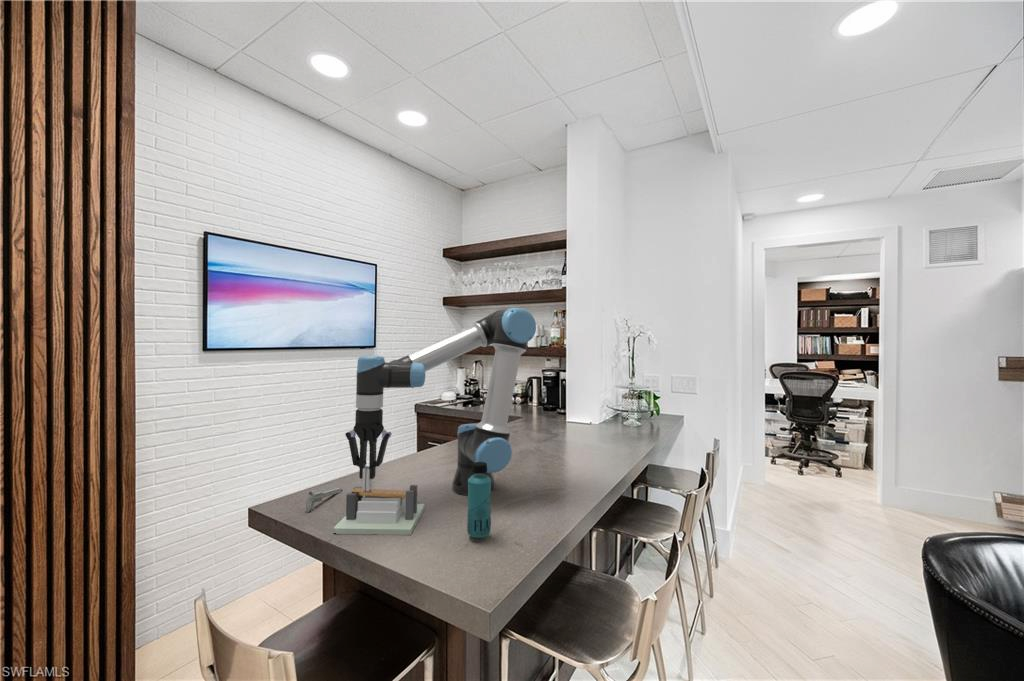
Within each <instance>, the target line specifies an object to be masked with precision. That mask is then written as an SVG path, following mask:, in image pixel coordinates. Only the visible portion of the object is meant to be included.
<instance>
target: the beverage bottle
mask: <svg viewBox="0 0 1024 681" xmlns="http://www.w3.org/2000/svg"><path fill="white" fill-rule="evenodd" d="M472 472H474V473H485V472H487V463H485V462H475V463H473V465H472ZM491 506H492V492H491V479H490V478H489V477H488V476H487V475H486V474H474V475H472V476H471V477H470V478H469V479H468V495H467V515H466V516H467V522H466V523H467V525H466V526H467V529H466V531H467V534H468V536H469V537H473V538H485V537H487V536H489V535H490V534H491V526H492V523H491V522H492V515H491V514H492V507H491Z"/></svg>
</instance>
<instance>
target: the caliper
mask: <svg viewBox="0 0 1024 681" xmlns="http://www.w3.org/2000/svg"><path fill="white" fill-rule="evenodd" d="M343 489H344V488H343V487H337V488H333V489H330V490H326V491H319V492H315V490H311V491H308V495H307V497H306V503H305V504H306V505H305V512H306V513H311V512H312V511H314V509H315V506H316V502H317V503H318V502H321V501H322V500H323V499H324V498H326V497H330V496H333V495H337V494H340V493H341V492H342V491H344V490H343ZM341 490H342V491H341ZM340 491H341V492H340ZM339 492H340V493H339ZM310 510H312V511H310Z"/></svg>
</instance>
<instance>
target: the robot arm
mask: <svg viewBox="0 0 1024 681" xmlns="http://www.w3.org/2000/svg"><path fill="white" fill-rule="evenodd" d="M536 332H537V322H536V320H535V317H534V316H533V315H532V313H531V312H530V311H528V310H527V309H526V308H523V307H515V306H514V307H509V308H504V309H499V310H496V311H494V312H492V313H490V314H488V315H487V316H485V317H483V318H481V319H479V320H477V321H475V322H473V323H472V325H471V326H470V327H469V328H466V329H463V330H461V331H460V332H456V333H455V334H453V335H449V336H448V337H446V338H445V337H444V339H441V340H439V341H437V342H434V343H431V344H430V345H427V346H425V347H423V348H421V349H418V350H416V351H414V352H412V353H410V354H407V355H405V356H404V357H400V358H398V359H392V360H391V361H389V362H386V361H385V357H384V356H382V355H360V356H359V357H358V358H357V366H356V367H357V369H356V394H355V408H356V410H355V425H354V426H353V429H351V430H350V431H347V432H346V433H345V434H344V435H345V437H346V438H347V440H348V445H349V446H348V447H349V449H350V451H349V452H350V455H351V461H352V465H353V466H356V467H358V468H359V473H358V474H359V475H358V476H359V479H361V481H362V482H361V483H362V484H361V485H362V486H361V487H362V491H369V490H370V489H373V485H372V484H373V480H374V478H375V477H376V468H377V467H380V466H381V465H382V464H383V461H384V458H385V453H386V449H387V445H388V441H389V440H390V438H391V436H392V432H391V431H387V430H386V429H385V427H384V425H383V418H384V416H383V413H384V410H383V407H384V389H390V388H392V389H393V388H394V389H396V388H397V389H399V388H401V389H402V388H403V389H405V388H406V389H409V388H410V389H414V388H421V387H423V386H424V385H425V381H426V372H428V371H430V370H433V369H434V368H436V367H439V366H440V365H444V364H445V363H447V362H449V361H451V360H453V359H456V358H457V357H460V356H462V355H464V354H466V353H469V352H471V351H474V350H476V349H477V348H480V347H483V348H486V347H489V346H491V345H492V346H493V348H494V350H495V351H494V352H495V353H494V357H493V361H492V362H493V363H492V366H491V371H490V376H489V380H488V381H489V382H488V386H487V392H486V395H485V396H486V397H485V402H484V406H483V411H482V417H481V421H480V422H476V423H475V422H474V423H465V424H460V425H459V426H458V427H457V434H456V435H457V464H456V465H457V466H456V467H457V468H456V470H455V474H454V476H453V479H452V483H451V490H452V491H453V492H454V493H456V494H459V495H463V496H468V479H469V478H470V477H471V476H472V475H474V474H486V475H487V476H488V477H489V478H490V479H491V491H492V490H493V489H494V490H495V488H496V486H495V484H496V483H495V479H494V473H498V472H500V471H502V470H504V469H505V468H506V467H507V466H508V465H509V463H510V462H511V459H512V455H513V451H512V446H511V444H510V442H509V440H510V435H511V431H510V428H509V427H508V421H509V416H510V411H511V406H512V401H513V396H514V390H515V386H516V380H517V375H518V372H519V365H520V359H521V356H522V355H523V354H525V352H527V347H528V343H529V342H530V341H531V340H532V339H533V338H534V337H535V334H536ZM380 435H381V438H382V440H381V442H380V445H379V450H378V454H377V442H378V439H379V437H380ZM356 436H357V437H358V439H359V448H358V443H357V439H356ZM368 445H369V456H368ZM367 456H368V458H369V459H368V460H369V463H367ZM475 462H485V463H487V472H485V473H474V472H472V465H473V463H475ZM367 464H369V465H367ZM494 487H495V488H494ZM494 490H493V491H494ZM493 491H492V492H493Z"/></svg>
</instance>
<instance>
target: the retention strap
mask: <svg viewBox="0 0 1024 681" xmlns="http://www.w3.org/2000/svg"><path fill="white" fill-rule="evenodd" d="M354 488H355V487H354ZM354 488H353V489H354ZM406 491H407V490H399V489H383V488H382V489H380V488H371V489H370V490H369V491H362V488H355V489H354V490H352V491H351V493H357V501H358V495H361V496H363V497H365V496H378V497H395V498H406ZM414 495H415V491H414Z"/></svg>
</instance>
